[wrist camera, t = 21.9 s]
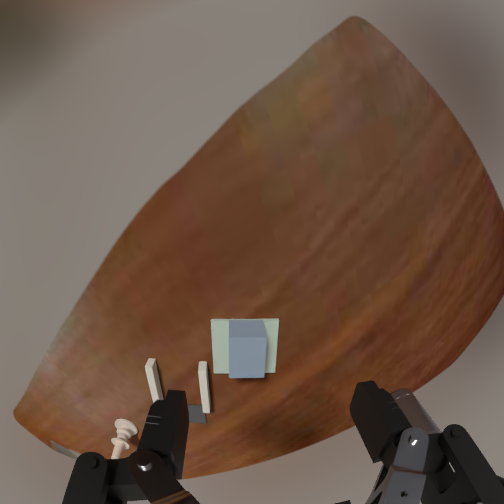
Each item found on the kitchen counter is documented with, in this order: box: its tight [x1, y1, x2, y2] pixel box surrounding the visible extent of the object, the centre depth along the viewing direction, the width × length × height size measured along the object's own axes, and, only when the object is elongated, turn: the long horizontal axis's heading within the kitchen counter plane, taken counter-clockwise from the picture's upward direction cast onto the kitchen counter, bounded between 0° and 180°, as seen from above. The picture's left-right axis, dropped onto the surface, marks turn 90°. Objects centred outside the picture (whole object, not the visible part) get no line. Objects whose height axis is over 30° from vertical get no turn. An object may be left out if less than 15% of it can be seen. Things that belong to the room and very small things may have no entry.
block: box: [229, 320, 267, 378], centre depth 39 cm, size 7×5×5 cm
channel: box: [145, 358, 211, 423], centre depth 43 cm, size 16×10×2 cm, turn 179°
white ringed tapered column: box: [111, 419, 138, 459], centre depth 41 cm, size 5×5×10 cm
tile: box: [211, 319, 279, 374], centre depth 42 cm, size 10×10×1 cm
